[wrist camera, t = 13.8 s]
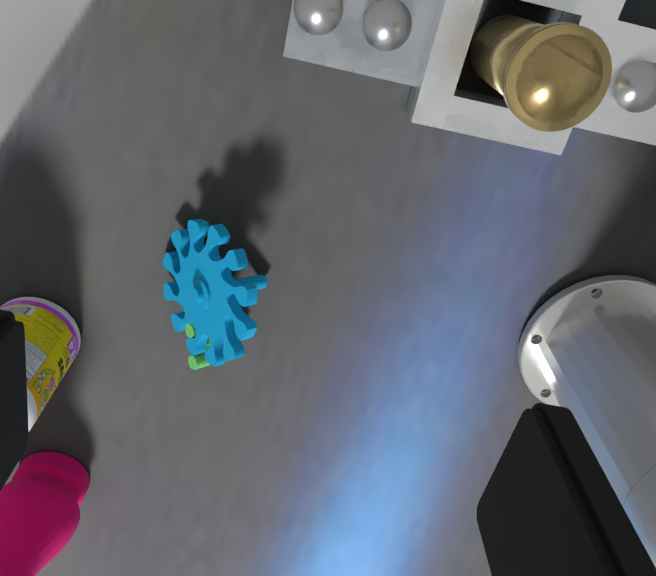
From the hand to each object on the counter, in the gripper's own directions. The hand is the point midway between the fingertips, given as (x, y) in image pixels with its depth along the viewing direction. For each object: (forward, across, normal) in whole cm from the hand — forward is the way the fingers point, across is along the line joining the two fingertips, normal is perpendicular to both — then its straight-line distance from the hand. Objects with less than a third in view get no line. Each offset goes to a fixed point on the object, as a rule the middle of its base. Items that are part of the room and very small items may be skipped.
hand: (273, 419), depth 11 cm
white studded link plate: (+30, -11, -5) cm, 33 cm away
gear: (+32, +6, +14) cm, 35 cm away
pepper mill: (+31, +16, +38) cm, 51 cm away
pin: (+30, -11, -5) cm, 33 cm away
